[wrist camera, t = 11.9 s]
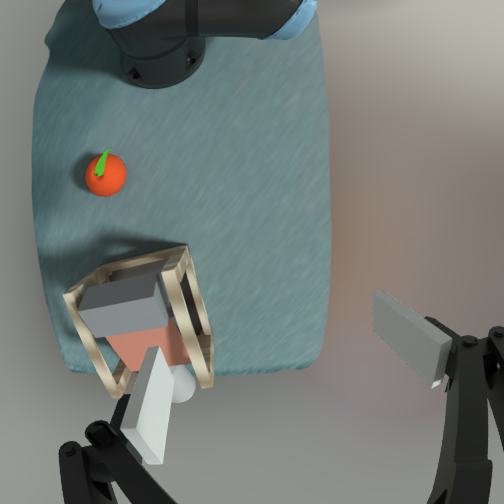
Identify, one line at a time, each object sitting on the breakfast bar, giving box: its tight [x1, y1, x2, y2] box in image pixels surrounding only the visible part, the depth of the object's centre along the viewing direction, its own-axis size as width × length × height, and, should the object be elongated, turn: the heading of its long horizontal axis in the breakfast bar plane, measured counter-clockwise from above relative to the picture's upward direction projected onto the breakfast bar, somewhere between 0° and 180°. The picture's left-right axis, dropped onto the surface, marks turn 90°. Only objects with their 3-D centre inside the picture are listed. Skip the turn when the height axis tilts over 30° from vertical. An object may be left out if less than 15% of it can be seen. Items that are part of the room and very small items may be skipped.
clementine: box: [85, 147, 126, 197], centre depth 39 cm, size 8×7×7 cm
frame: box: [63, 244, 214, 398], centre depth 41 cm, size 18×17×15 cm
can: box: [169, 364, 195, 403], centre depth 46 cm, size 8×8×12 cm
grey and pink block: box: [77, 271, 192, 372], centre depth 36 cm, size 16×13×5 cm
